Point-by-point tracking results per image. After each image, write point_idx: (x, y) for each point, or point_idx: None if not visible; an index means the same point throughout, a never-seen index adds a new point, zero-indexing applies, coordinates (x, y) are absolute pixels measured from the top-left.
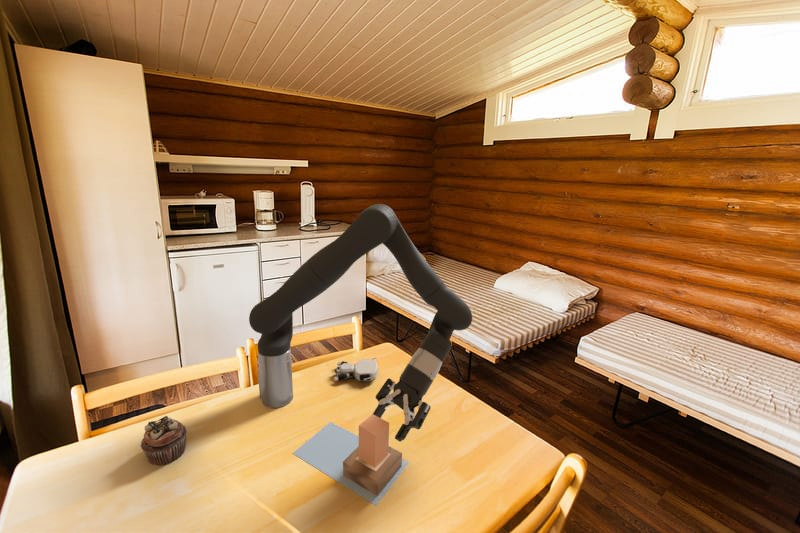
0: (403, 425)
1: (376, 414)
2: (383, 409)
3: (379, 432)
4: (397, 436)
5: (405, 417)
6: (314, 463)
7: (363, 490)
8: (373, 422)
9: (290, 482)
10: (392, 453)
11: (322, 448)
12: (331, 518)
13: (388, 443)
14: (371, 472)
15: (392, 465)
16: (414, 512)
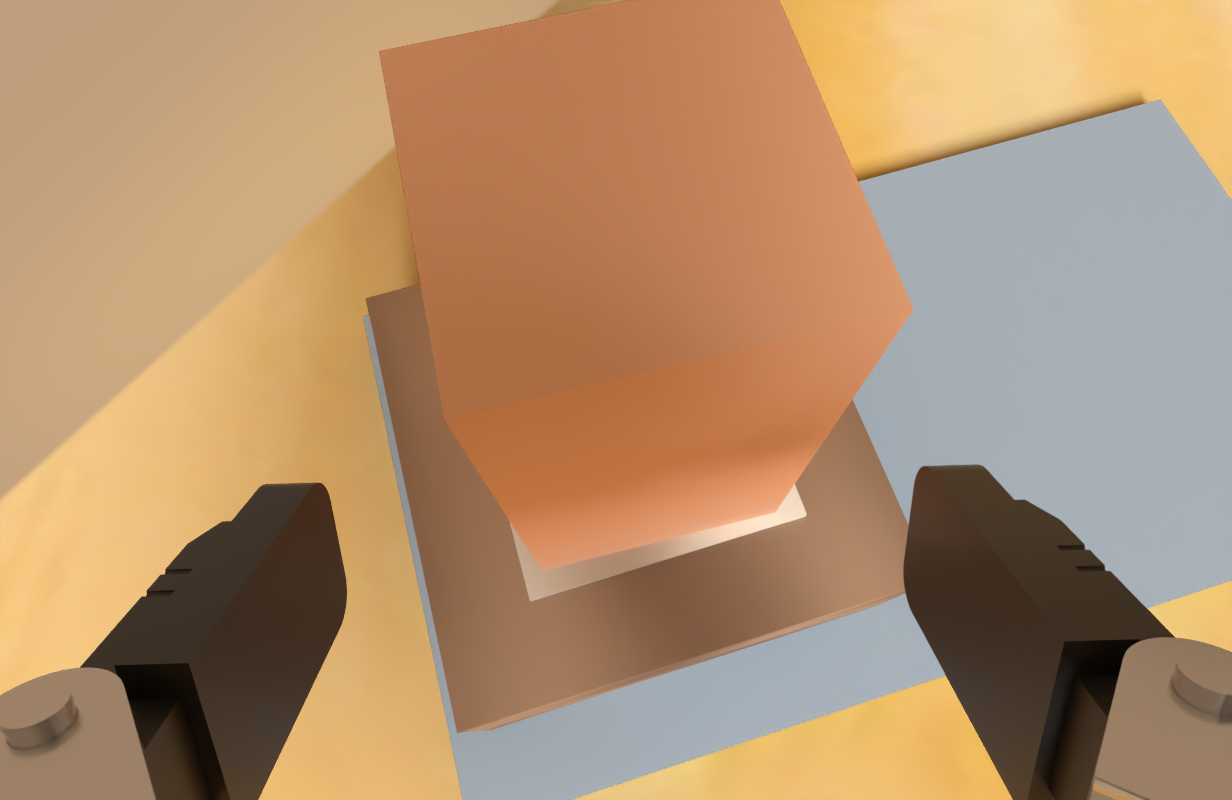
0: (153, 641)
1: (966, 517)
2: (1022, 731)
3: (397, 145)
4: (258, 497)
5: (107, 782)
6: (973, 172)
7: None
8: (674, 187)
9: (909, 28)
10: (531, 631)
11: (1100, 282)
12: None
13: (519, 535)
14: None
15: (416, 528)
16: (128, 514)
